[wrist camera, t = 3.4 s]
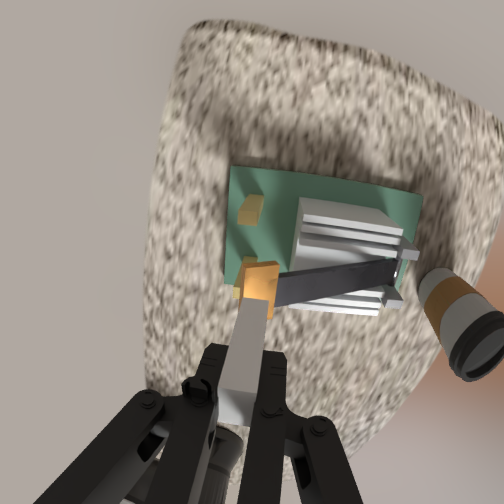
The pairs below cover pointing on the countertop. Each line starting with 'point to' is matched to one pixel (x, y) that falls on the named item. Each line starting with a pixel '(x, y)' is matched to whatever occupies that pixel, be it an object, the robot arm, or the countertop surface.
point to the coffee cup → (463, 323)
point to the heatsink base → (319, 230)
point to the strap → (313, 281)
